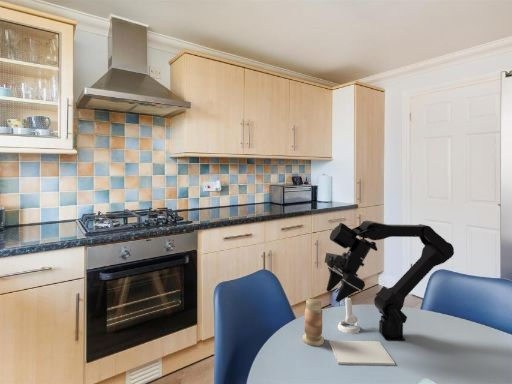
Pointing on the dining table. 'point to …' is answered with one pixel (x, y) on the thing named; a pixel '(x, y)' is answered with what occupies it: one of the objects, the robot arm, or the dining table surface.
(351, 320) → the white vr controller
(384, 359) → the mat
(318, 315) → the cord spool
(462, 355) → the dining table surface
